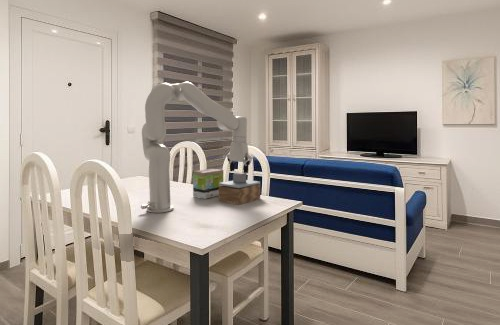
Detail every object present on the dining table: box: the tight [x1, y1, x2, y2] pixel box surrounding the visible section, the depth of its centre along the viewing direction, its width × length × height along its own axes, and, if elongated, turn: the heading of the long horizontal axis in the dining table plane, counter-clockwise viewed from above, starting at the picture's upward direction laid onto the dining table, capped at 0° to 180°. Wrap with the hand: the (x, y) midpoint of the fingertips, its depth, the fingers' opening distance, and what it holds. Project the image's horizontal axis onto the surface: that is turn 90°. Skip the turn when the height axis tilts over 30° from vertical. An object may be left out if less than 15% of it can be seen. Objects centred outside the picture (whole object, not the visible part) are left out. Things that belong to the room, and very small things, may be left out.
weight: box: [232, 172, 247, 184], centre depth 187 cm, size 5×5×5 cm
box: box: [218, 183, 261, 205], centre depth 188 cm, size 18×14×8 cm
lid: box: [219, 179, 261, 188], centre depth 187 cm, size 18×14×1 cm
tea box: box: [192, 168, 224, 200], centre depth 197 cm, size 15×10×15 cm, turn 143°
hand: (238, 171), depth 186 cm, fingers open, 9 cm apart
